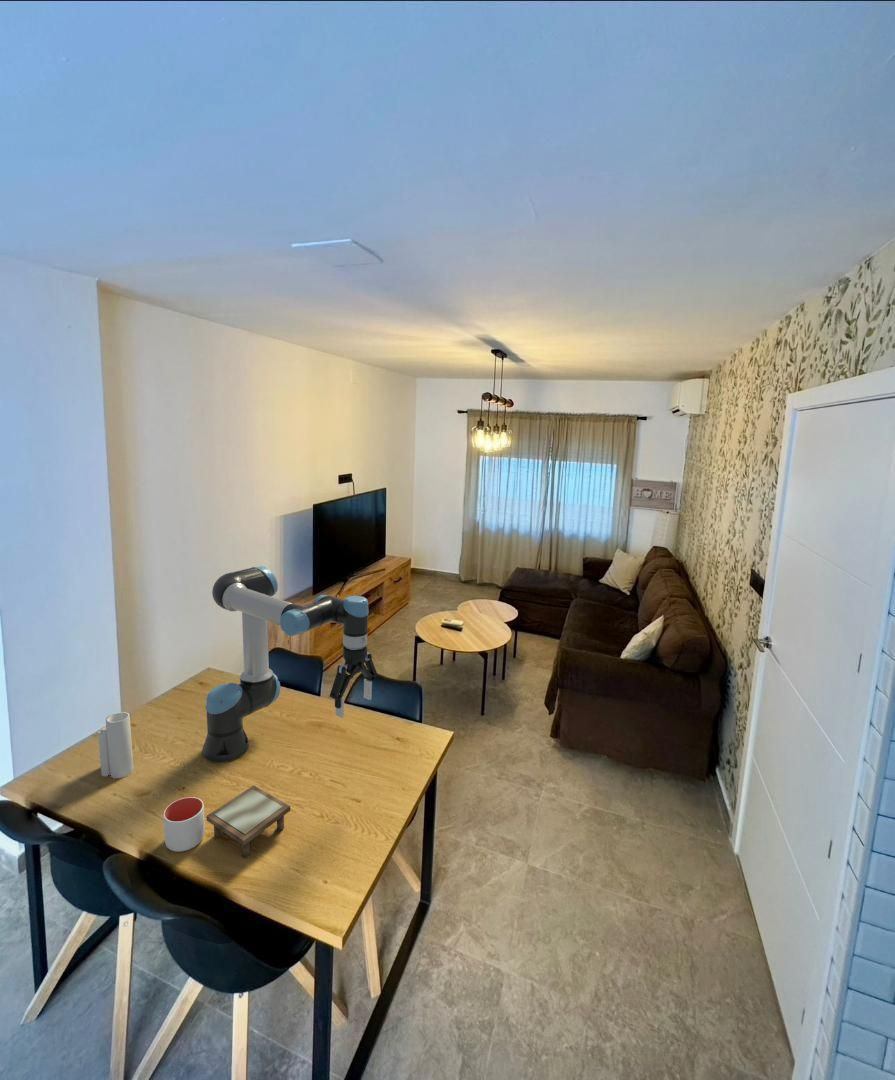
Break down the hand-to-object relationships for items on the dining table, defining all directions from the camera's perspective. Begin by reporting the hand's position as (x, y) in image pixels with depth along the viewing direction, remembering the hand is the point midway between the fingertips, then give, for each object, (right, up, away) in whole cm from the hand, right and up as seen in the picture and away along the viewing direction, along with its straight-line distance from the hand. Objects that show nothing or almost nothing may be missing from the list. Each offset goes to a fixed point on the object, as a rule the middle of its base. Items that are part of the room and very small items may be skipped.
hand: (354, 707), depth 170 cm
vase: (-80, -23, +5) cm, 84 cm away
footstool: (-27, -30, -18) cm, 44 cm away
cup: (-44, -31, -22) cm, 58 cm away
